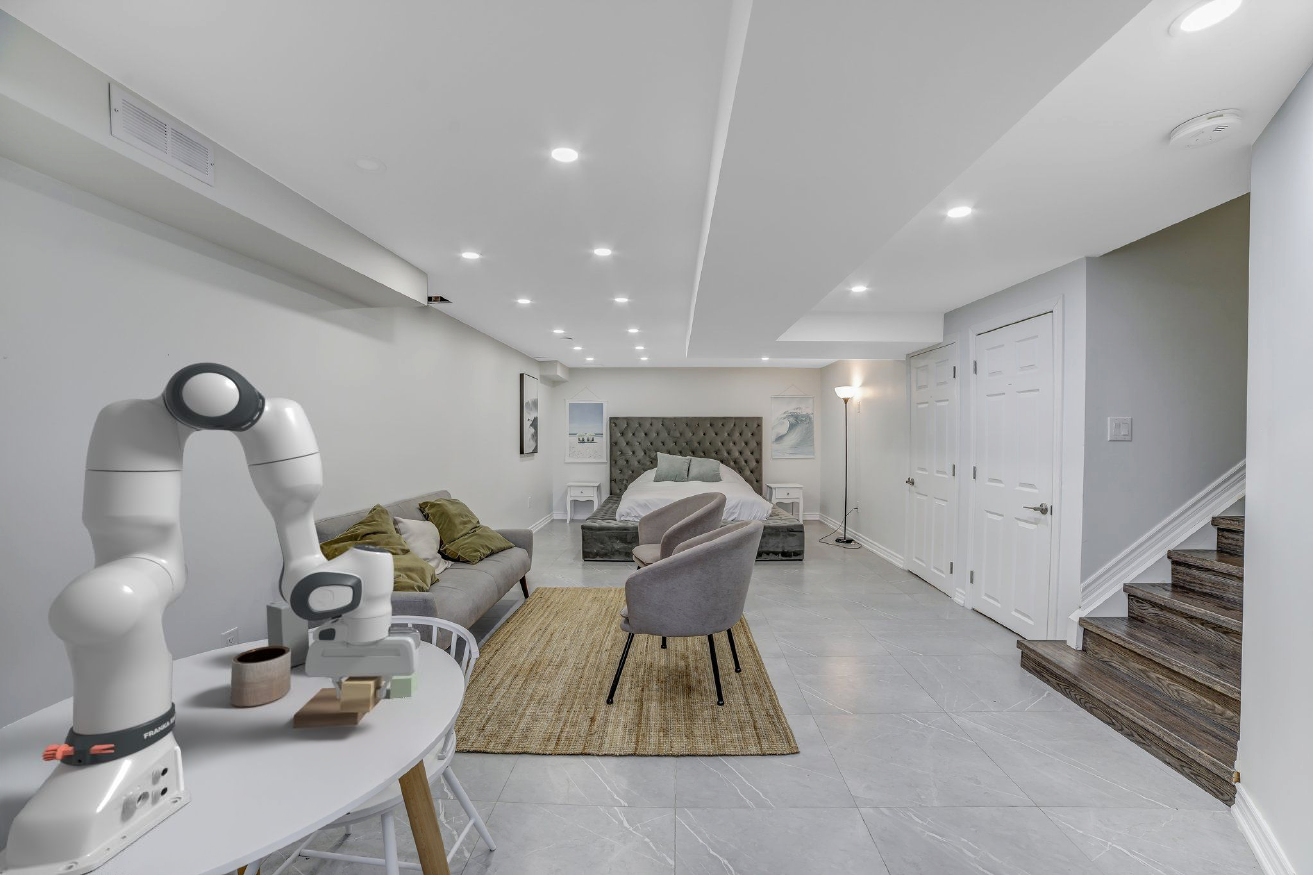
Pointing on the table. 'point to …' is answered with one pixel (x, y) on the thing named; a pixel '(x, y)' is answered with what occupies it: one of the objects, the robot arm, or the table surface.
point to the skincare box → (288, 631)
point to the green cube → (403, 686)
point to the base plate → (325, 711)
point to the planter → (260, 676)
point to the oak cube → (360, 693)
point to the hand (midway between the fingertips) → (361, 697)
